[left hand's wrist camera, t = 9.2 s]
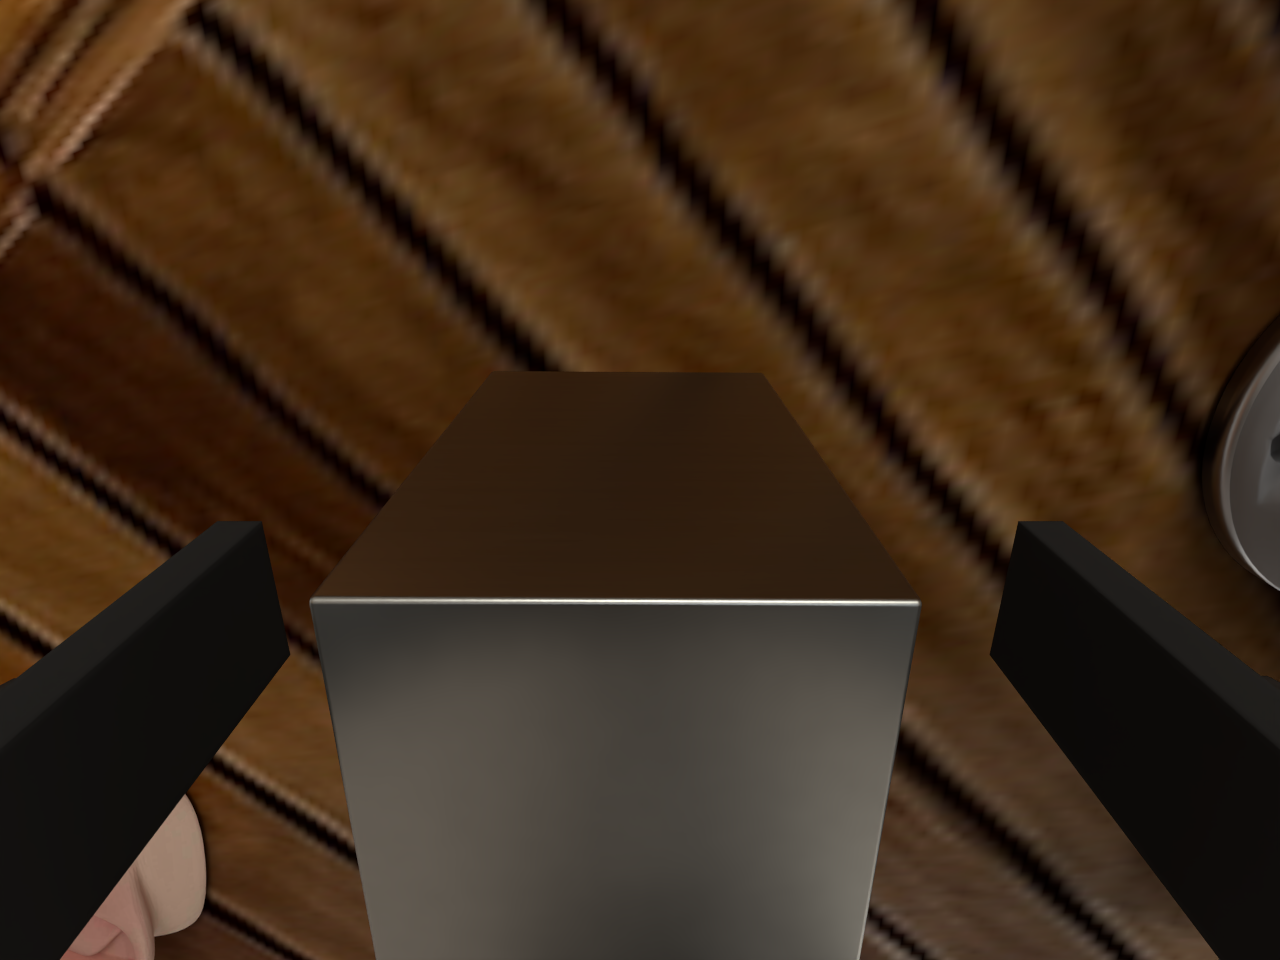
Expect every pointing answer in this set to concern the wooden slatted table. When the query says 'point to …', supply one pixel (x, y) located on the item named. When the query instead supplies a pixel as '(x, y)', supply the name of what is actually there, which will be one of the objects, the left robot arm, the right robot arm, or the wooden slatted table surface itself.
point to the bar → (617, 681)
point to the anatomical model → (150, 894)
